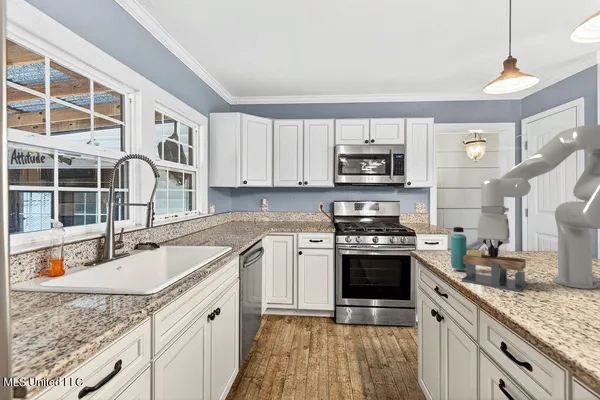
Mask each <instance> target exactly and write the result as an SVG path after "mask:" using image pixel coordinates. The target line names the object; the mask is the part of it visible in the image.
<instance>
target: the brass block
mask: <svg viewBox="0 0 600 400" xmlns="http://www.w3.org/2000/svg"><path fill="white" fill-rule="evenodd" d="M467 254H468V256H470V257H479V258H485V255H486V250H482V249H472V248H471V249H468V250H467Z"/></svg>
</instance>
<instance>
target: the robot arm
mask: <svg viewBox="0 0 600 400" xmlns="http://www.w3.org/2000/svg"><path fill="white" fill-rule="evenodd" d="M582 150H583V151H584V152H585V154H586V157H587V164H586V166H585V168H584V170H583V171H582V173H581V175H580V177H579V178H578V180H577V181H576V183H575V185H574V187H573V189H572V190H573V191H572V193H573V196H574V197H575V198H576V199H578V200H581V201H577V200H575V201H573V200H571V201H565V202H562V203H561V204H559V205H558V206H557V207H556V209H555V211H554V219H555V222H556V223H555V224H556V227H557V276H554V277H553V278H552V281H553V283H555V284H558V285H560V286H563V287H564V286H565V287H569V288H575V289H576V288H577V289H585V290H591V289H592V290H593V289H597V288H599V284H600V277H598V276H595V275H594V272H593V237H592V234H591V231H590V229H591V230H600V124H591V125H590V124H587V125H581V126H580V125H579V126H576V127H572V128H569V129H566V130H563V131H560V132H559V133H557V134H556V135H555V136H554V137H552V138H551V139H550V140H549V141H548V142H546V143H545V144H544V145H543V146H542V147H541V148H539V149H538V150H537V151H536V152H534V154H532V155H531V156H529V157H528V158H526V159H524V160H523V161H522V162H520V163H519V164H517V165H515V166H514V167H512V168H511V169H509V170H508V171H507V172H506V173H504V174H503V175H502V176H501V177H499V179H498V178H496V179H495V178H493V179H492V178H491V179H490V178H489V179H483V180H482V181H481V183H480V196H481V197H480V202H481V203H480V204H481V209H480V211H481V213H479V216H478V220H477V221H478V222H477V229H476V230H477V233H476V234H477V241H478V242H480V243H483V244H484V245H486V247H487V250H488V251H487V253H488V254H487V255H490V258H492V257H493V258H496V257H497V256H499V247H501V246H502V245H508V244H510V237H511V233H510V232H511V231H510V223H509V218H508V214H506V212H509V211H510V208H509V207H506V206H505V198H523V197H525V196H527V195H528V194H529V193H530V191H531V186H532V185H531V183H530V182H529V180H531V179H533V178H536V177H539V176H543V175H545V174H547V173H550V172H551V171H553V170H554V169H556V168H557V167H558V166H559V165H561V163H563V162H564V161H565V160H566V159H567V158H569V157H570V156H571V155H572V154H573V153H575V152H577V151H582ZM493 241H494V243H493Z"/></svg>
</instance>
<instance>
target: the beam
mask: <svg viewBox="0 0 600 400" xmlns="http://www.w3.org/2000/svg"><path fill="white" fill-rule="evenodd" d="M526 260H527V259H526V258H521V257H520V258H518V257H509V256H499V255H498V256H497V257H496V258H493V257H492V258H490V255H488V254H485V258H479V257H470V256H468V253H467V255H465V256H463V264H470V265H476V266H481V267H486V268H487V267H488V268H491V263H497V264H500V268H501V269H507V271H508V270H511V271H517V272H518V271H521V272H523V270H524V269H525V268H527V266H526V265H527V263H526V262H527V261H526Z"/></svg>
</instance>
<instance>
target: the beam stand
mask: <svg viewBox="0 0 600 400" xmlns="http://www.w3.org/2000/svg"><path fill="white" fill-rule="evenodd" d="M476 266H477V265H470V264H466V269H465V271H466V272H465V273H466V275H465V276H464V277H462V278H461V282H463V283H469V284H474V285H480V286H484V287H489V288H496V289H500V290H504V291H511V292H517V293H520V292H522V290H523V289H524V288H525V287H527V285H528V282H527V281H526V273H525V271H517V272H515V273H514V274H515V275H514V279H513V278H508V269H501V268H500V264H497V263H491V267H490V268H491V269H490V270H491V271H490V273H491V274H490V275H487V274H482V273H477V271H476V270H477V267H476Z"/></svg>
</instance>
